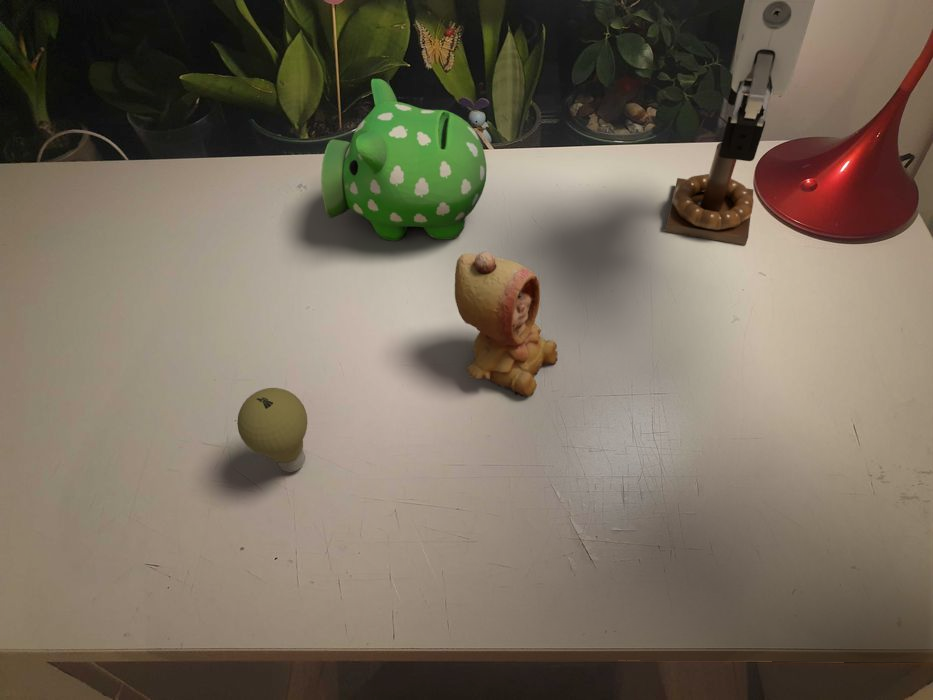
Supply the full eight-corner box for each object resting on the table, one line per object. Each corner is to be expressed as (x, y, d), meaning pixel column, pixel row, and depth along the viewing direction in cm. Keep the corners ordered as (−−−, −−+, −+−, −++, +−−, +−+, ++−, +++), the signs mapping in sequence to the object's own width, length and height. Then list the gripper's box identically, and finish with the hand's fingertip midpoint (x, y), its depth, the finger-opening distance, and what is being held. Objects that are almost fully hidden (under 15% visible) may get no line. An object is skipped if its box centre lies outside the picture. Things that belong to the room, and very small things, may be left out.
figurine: (528, 415, 62) (491, 297, 52) (462, 396, 66) (417, 283, 56) (571, 343, 67) (545, 223, 57) (508, 329, 71) (474, 215, 61)
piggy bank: (351, 184, 86) (325, 75, 75) (489, 181, 85) (485, 70, 73) (332, 259, 77) (300, 149, 66) (487, 257, 76) (482, 144, 64)
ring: (753, 192, 79) (758, 178, 77) (745, 239, 74) (750, 225, 72) (678, 179, 81) (682, 165, 80) (666, 224, 76) (669, 210, 75)
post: (751, 197, 80) (774, 130, 73) (745, 245, 75) (769, 178, 68) (675, 185, 82) (690, 119, 75) (664, 231, 77) (680, 165, 70)
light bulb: (333, 442, 62) (307, 378, 54) (312, 496, 58) (282, 436, 50) (278, 433, 63) (244, 369, 55) (254, 485, 59) (215, 426, 51)
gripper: (847, -13, 47) (775, 187, 60) (843, -96, 57) (783, 90, 70) (736, -21, 49) (690, 175, 62) (751, -100, 59) (709, 83, 72)
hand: (739, 130), depth 66 cm, fingers open, 9 cm apart
